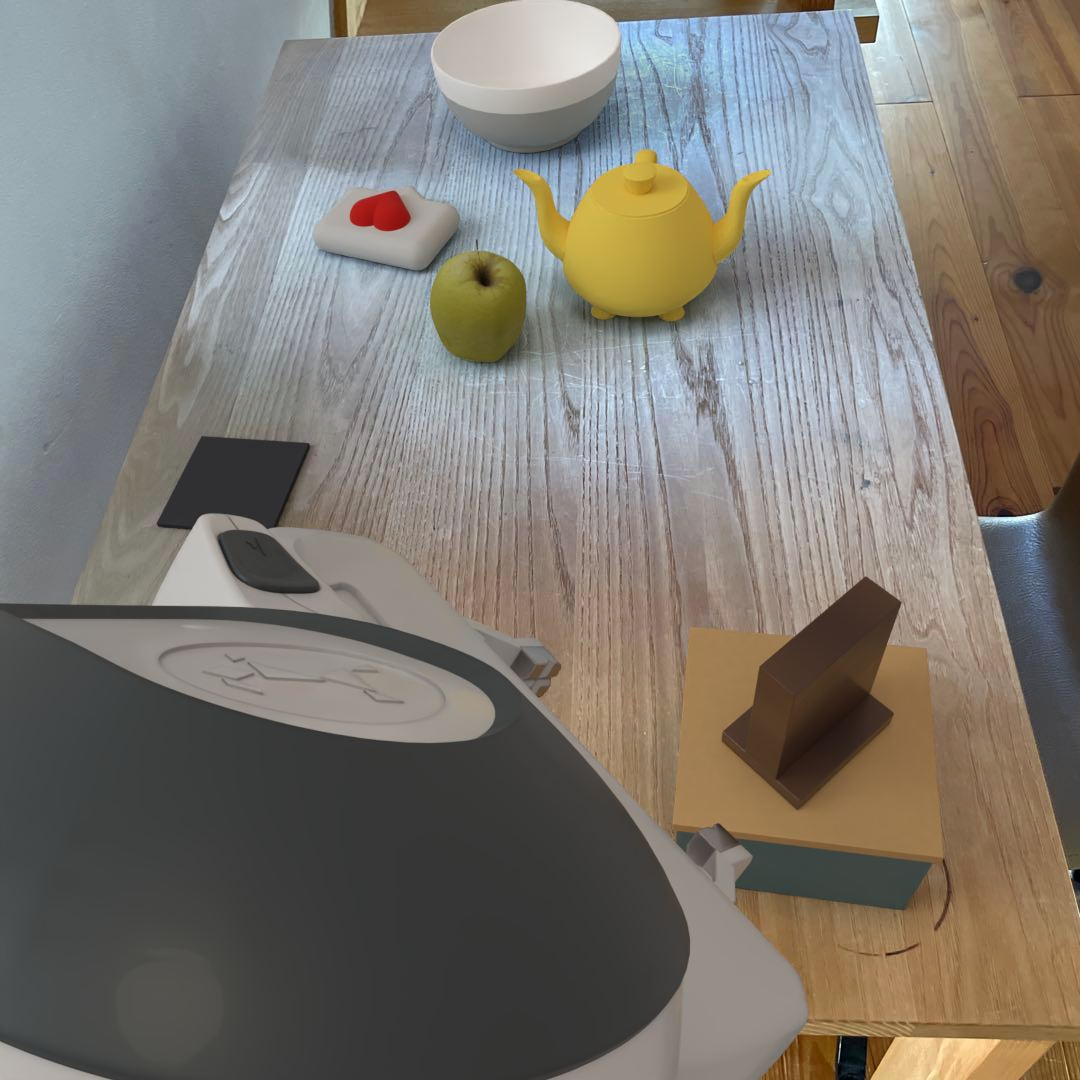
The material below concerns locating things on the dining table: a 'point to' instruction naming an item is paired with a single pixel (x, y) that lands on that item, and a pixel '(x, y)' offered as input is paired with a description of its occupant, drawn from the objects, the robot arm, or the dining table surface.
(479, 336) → the apple
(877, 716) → the brown upright sign stand
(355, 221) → the icon
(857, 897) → the toy box
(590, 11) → the bowl
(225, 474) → the mat
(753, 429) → the dining table surface
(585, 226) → the teapot
